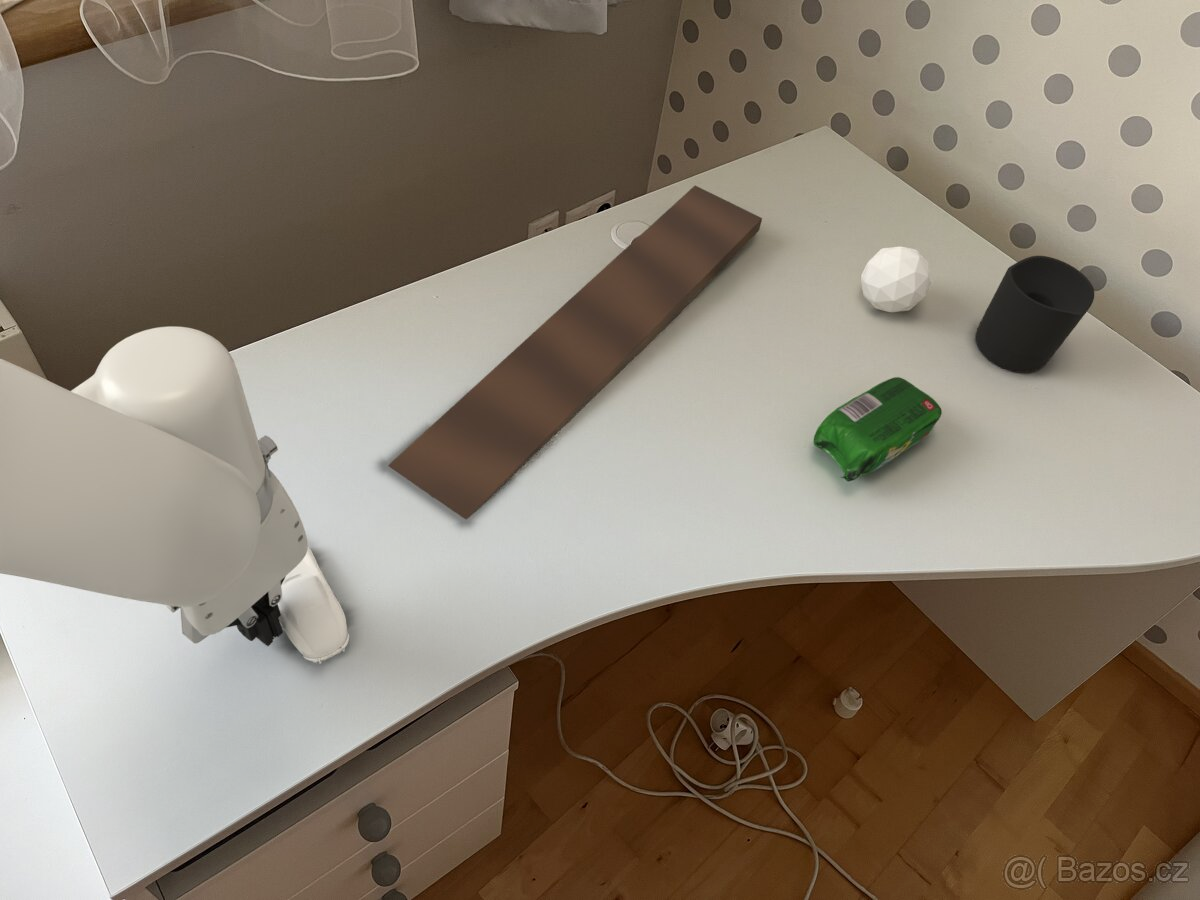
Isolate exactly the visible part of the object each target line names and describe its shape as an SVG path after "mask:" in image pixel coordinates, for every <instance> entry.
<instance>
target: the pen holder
mask: <svg viewBox="0 0 1200 900" xmlns="http://www.w3.org/2000/svg"><path fill="white" fill-rule="evenodd" d="M1094 299H1095V288H1094V286H1093V284H1092V283H1091V281H1090V280H1089V279H1088V277H1087V276H1086V275H1084V274H1083V273H1082V272H1081V271H1080V270H1079V269H1077V268H1076V267H1074V266H1072V265H1071V264H1069V263H1068V262H1065V261H1063V260H1060V259H1058V258H1054V257H1051V256H1046V255H1032V256H1028V257H1026V258H1022V259H1020V260H1019V261H1017V262H1015V263H1013V264H1012V265H1010V266H1009V267H1008V268H1007V269H1006V271H1005V273H1004V275H1003V277H1002V279H1001V280H1000V282H999V285H998V287H997V288H996V291H995V293H994V295H993V296H992V298H991V300H990V303H989V304H988V306H987V308H986V310H985V312H984V314H983V316H982V318H981V319H980V322H979V325H978V326H977V328H976V331H975V343H976V345H977V347H978V349H979V351H980V352H981V353H982V355H983V356H984V357H985V358H986V359H987V360H989V361H990V362H991V363H993V364H994V365H996V366H998V367H1000V368H1002V369H1004V370H1008V371H1011V372H1015V373H1030V372H1035V371H1039V370H1040V369H1042V368H1044V367H1045V366H1046V365H1047V364H1048V363H1049V361H1050V360H1051V359H1052V358H1053V357H1054V355H1055V354H1056V352H1057V351H1058V350H1059V349H1060V347H1061V346H1062V345H1063V344H1064V343H1065V341H1066V339H1068V337H1069V336H1070V334H1071V333H1072V332H1073V331H1074V329H1075V328H1076V327H1077V325H1078V324H1079V323H1080V321H1081V320H1082V319H1083V318H1084V316H1085V315H1086V314H1087V312H1088V311H1089V309H1090V308H1091V307H1092V304H1093V303H1094Z"/></svg>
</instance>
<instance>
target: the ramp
mask: <svg viewBox="0 0 1200 900" xmlns="http://www.w3.org/2000/svg"><path fill="white" fill-rule="evenodd" d="M762 221H763V218H762V217H761V216H758V215H757V214H754V213H753V212H751V211H748V210H747V209H744V208H742V207H740V206H738V205H736V204H734V203H732V202H730V201H728V200H726V199H724V198H722V197H720V196H718V195H716V194H714V193H711V192H710V191H708V190H705V189H703V188H702V187H699V186H697V185H694V186H693V187H691V188H690V189H689V190H688V191H686V193H684V195H683V196H682V197H681V198H680V199H678V200H677V201H676V202H675V203H673V205H671V207H669V208H668V209H667V210H666V211H665V212H664V213H662V215H660V216H659V218H657V219H656V220H655V221H654V222H653V223H652V224H651V225H650V226H649V227H647V229H645V230H644V231H643V232H642V233H641V234H640V235H639V236H637V237H636V239H634V240H633V241H632V242H631V243H630V244H629V245H628V246H626V248H624V249H623V250H622V251H621V252H620V253H618V255H617V256H615V258H614V259H612V260H611V261H610V262H609V263H608V264H607V265H606V266H605V267H603V268H602V270H600V271H599V272H598V273H597V274H596V275H595V276H593V278H591V280H590V281H588V282H587V283H586V284H585V285H583V286H582V287H581V289H579V290H578V291H577V292H576V293H575V294H574V295H573V296H572V297H571V298H569V300H567V301H566V302H565V303H564V304H563V305H562V306H561V307H560V308H559V309H557V310H556V311H555V312H554V313H553V314H552V315H551V316H550V317H549V318H547V320H546V321H545V322H543V323H542V324H541V325H540V326H539V327H538V328H537V329H536V330H535V331H534V332H532V333H531V334H530V335H528V337H527V338H526V339H524V341H523V342H521V343H520V344H519V345H518V346H517V347H516V348H515V349H514V350H513V351H512V352H511V353H510V354H508V355H507V356H506V357H505V358H504V359H503V360H501V362H499V363H498V364H497V365H496V366H495V367H494V368H493V369H492V370H491V371H490V372H489V373H487V374H486V375H485V376H483V378H482V379H481V380H479V382H478V383H476V384H475V385H474V386H473V387H472V388H471V389H469V391H468V392H467V393H466V394H464V396H462V397H461V398H460V399H459V400H458V401H457V402H456V403H454V405H452V406H451V407H450V408H449V409H448V410H447V411H446V412H445V413H444V414H443V415H442V416H440V417H439V418H438V419H437V420H436V421H435V422H433V424H432V425H430V426H429V427H428V428H427V429H426V430H425V431H424V432H423V433H422V434H420V435H419V436H418V437H417V438H416V439H415V440H414V441H413V442H412V443H410V444H409V446H408V447H406V448H405V449H404V450H403V451H402V452H401V453H399V455H397V456H396V457H395V458H394V459H393V460H392V461H391V462H390V463H389V464H388V465H387V466H388V467H389V468H390V469H392V470H393V471H395V472H396V473H397V474H399V475H400V476H402V477H403V478H404V479H406V480H407V481H409V482H410V483H412V484H414V485H415V486H417V487H418V488H419V489H421V490H422V491H423V492H425V493H427V494H428V495H429V496H431V497H432V498H434V499H435V500H437V501H438V502H439V503H441V504H442V505H444V506H446V507H447V508H449V509H450V510H451V511H453V512H454V513H456V514H457V515H458V516H460V517H461V518H463V519H464V520H468V519H470V518H471V516H473V514H475V513H476V512H477V511H478V510H479V509H480V508H481V507H482V506H483V505H484V504H485V503H486V502H487V501H488V500H489V499H490V498H492V497H493V495H494V494H495V493H497V492H498V491H499V489H501V488H502V487H503V486H504V485H505V484H506V483H507V482H508V481H509V480H510V479H511V478H512V477H513V476H514V475H515V474H516V473H518V471H519V470H520V469H521V468H522V467H523V466H525V464H527V462H529V461H530V459H531V458H533V457H534V456H535V455H536V454H537V453H538V452H539V451H540V450H541V449H542V448H543V447H544V446H545V445H546V444H547V443H548V442H550V440H551V439H552V438H553V437H554V436H555V435H557V434H558V432H559V431H561V430H562V428H564V427H565V426H566V425H567V424H568V423H569V422H570V421H572V419H573V418H574V417H575V416H576V415H577V414H578V413H579V412H580V411H582V409H584V408H585V406H586V405H587V404H588V403H590V402H591V401H592V400H593V399H594V398H595V397H596V396H597V395H598V394H599V393H600V392H601V391H602V390H603V389H604V388H605V387H606V386H607V385H608V384H609V383H610V382H611V381H612V380H613V379H615V377H616V376H617V375H619V374H620V373H621V372H622V371H623V370H624V369H625V368H626V367H627V366H628V365H629V364H630V363H631V362H632V361H634V359H635V358H636V357H637V356H638V355H639V354H640V353H641V352H642V351H644V350H645V348H646V347H647V346H648V345H650V344H651V343H652V342H653V340H655V339H656V338H657V337H658V335H659V334H661V332H663V330H664V329H665V328H666V327H667V326H668V325H669V324H670V323H671V322H672V321H673V320H674V319H675V318H676V317H677V316H678V315H679V314H680V313H681V312H682V311H683V310H684V309H685V308H686V307H687V306H688V305H689V304H690V303H691V302H692V301H693V299H695V298H696V296H698V294H699V293H700V292H701V291H702V290H703V289H704V288H705V287H707V285H708V284H709V283H710V282H711V281H712V280H713V279H714V278H715V277H716V276H717V275H718V274H719V273H720V272H721V270H723V269H724V268H725V267H726V265H727V264H729V262H730V261H731V260H732V259H733V258H734V257H736V255H737V254H738V253H739V252H740V251H741V250H742V249H743V248H744V247H745V246H746V245H747V244H748V243H749V242H750V240H752V238H753V237H755V236H756V235H757V233H758V232H759V231H760V229H761V225H762Z"/></svg>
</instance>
